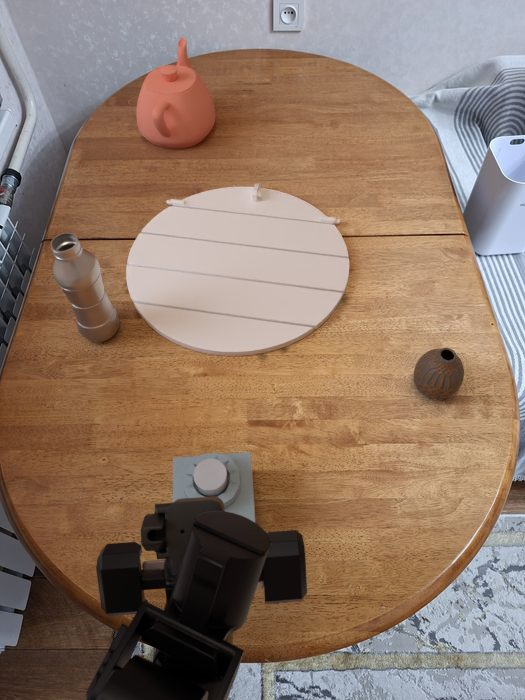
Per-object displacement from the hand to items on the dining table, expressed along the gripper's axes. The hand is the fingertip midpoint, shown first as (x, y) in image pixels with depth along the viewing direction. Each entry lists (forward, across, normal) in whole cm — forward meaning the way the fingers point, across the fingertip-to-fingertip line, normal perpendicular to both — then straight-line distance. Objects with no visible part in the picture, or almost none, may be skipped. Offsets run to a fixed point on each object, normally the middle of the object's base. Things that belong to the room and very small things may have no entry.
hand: (209, 527), depth 59 cm
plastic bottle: (+36, +18, -17) cm, 44 cm away
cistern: (+13, 0, +6) cm, 14 cm away
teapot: (+75, +7, -56) cm, 94 cm away
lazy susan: (+45, -4, -26) cm, 52 cm away
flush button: (+9, 0, -1) cm, 9 cm away
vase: (+26, -33, -6) cm, 42 cm away
